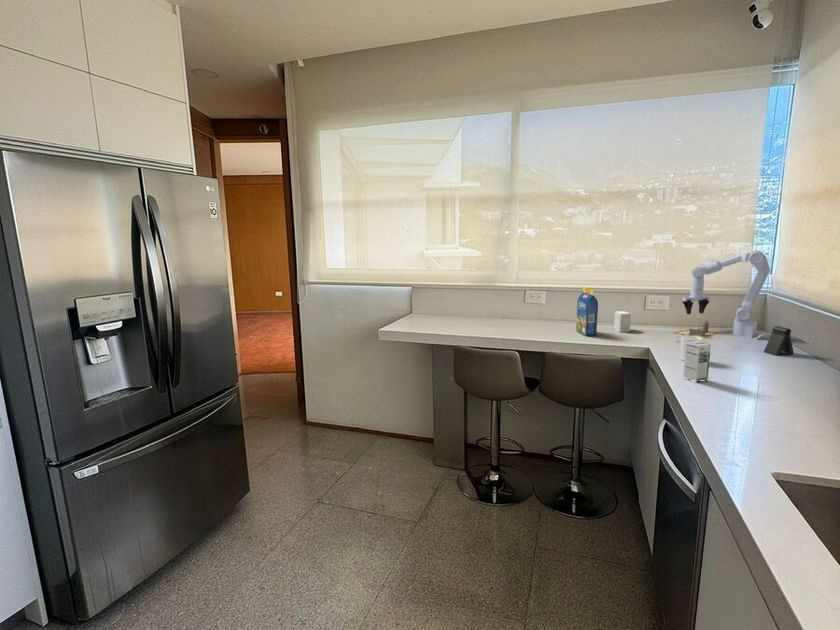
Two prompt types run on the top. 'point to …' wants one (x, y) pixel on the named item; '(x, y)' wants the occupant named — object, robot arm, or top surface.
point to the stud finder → (697, 331)
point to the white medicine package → (684, 340)
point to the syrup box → (697, 360)
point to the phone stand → (779, 342)
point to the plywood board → (686, 332)
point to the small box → (622, 321)
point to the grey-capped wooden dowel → (706, 326)
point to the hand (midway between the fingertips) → (694, 313)
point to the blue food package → (587, 313)
